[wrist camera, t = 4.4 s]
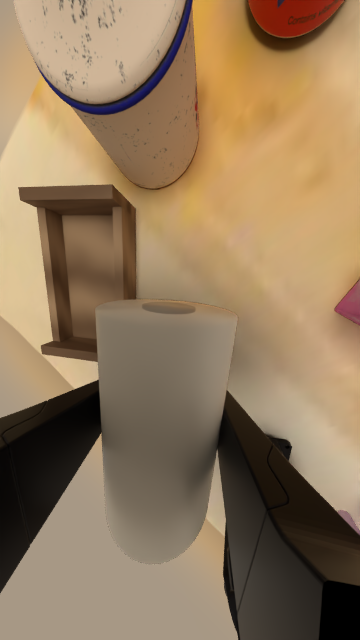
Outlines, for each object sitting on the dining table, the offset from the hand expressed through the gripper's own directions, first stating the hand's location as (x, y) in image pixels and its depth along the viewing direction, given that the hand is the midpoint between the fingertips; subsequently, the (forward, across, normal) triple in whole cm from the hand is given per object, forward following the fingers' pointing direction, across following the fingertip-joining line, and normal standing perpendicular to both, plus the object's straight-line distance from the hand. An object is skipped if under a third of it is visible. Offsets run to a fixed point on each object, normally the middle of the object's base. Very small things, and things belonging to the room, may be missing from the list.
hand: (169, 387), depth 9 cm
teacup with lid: (+12, +6, -20) cm, 24 cm away
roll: (-2, 0, 0) cm, 2 cm away
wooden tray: (+12, +11, -4) cm, 17 cm away
